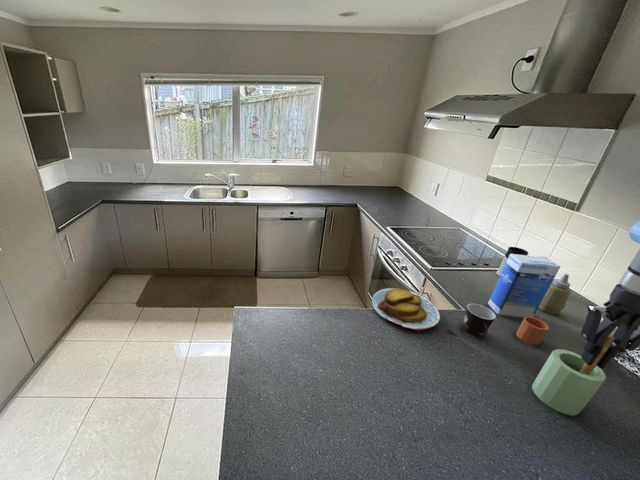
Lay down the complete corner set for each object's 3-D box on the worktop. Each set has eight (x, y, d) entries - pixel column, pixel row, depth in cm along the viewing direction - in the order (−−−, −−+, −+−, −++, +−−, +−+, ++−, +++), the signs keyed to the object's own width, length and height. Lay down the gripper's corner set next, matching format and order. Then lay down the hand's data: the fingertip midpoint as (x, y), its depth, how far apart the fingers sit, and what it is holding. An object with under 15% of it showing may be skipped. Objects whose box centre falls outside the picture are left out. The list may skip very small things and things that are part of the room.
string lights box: (520, 308, 121) (546, 256, 110) (533, 321, 114) (562, 266, 103) (486, 304, 122) (509, 252, 112) (496, 316, 116) (522, 262, 105)
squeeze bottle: (565, 316, 117) (587, 280, 110) (546, 316, 117) (566, 280, 110) (547, 304, 124) (566, 269, 117) (529, 303, 124) (547, 268, 117)
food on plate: (435, 344, 101) (440, 330, 98) (364, 315, 113) (367, 302, 111) (439, 306, 120) (443, 293, 117) (378, 285, 133) (381, 274, 130)
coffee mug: (461, 320, 112) (469, 300, 108) (487, 332, 107) (497, 311, 103) (454, 335, 105) (462, 314, 101) (482, 349, 99) (492, 327, 95)
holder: (511, 272, 148) (523, 247, 142) (528, 288, 135) (542, 261, 129) (492, 269, 150) (503, 245, 144) (508, 285, 137) (520, 258, 131)
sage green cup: (581, 401, 82) (606, 367, 77) (578, 423, 76) (604, 388, 71) (535, 376, 90) (555, 343, 84) (528, 395, 84) (549, 361, 78)
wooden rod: (580, 393, 80) (620, 337, 71) (579, 400, 78) (620, 344, 69) (563, 383, 82) (599, 329, 74) (561, 391, 80) (599, 335, 72)
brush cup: (540, 340, 104) (550, 324, 101) (537, 349, 100) (547, 332, 97) (517, 330, 108) (526, 313, 105) (513, 338, 104) (522, 321, 101)
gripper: (670, 289, 67) (617, 360, 76) (590, 275, 72) (549, 344, 81) (703, 309, 60) (640, 384, 70) (611, 292, 65) (564, 364, 74)
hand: (591, 362), depth 75 cm, fingers closed on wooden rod, 2 cm apart
